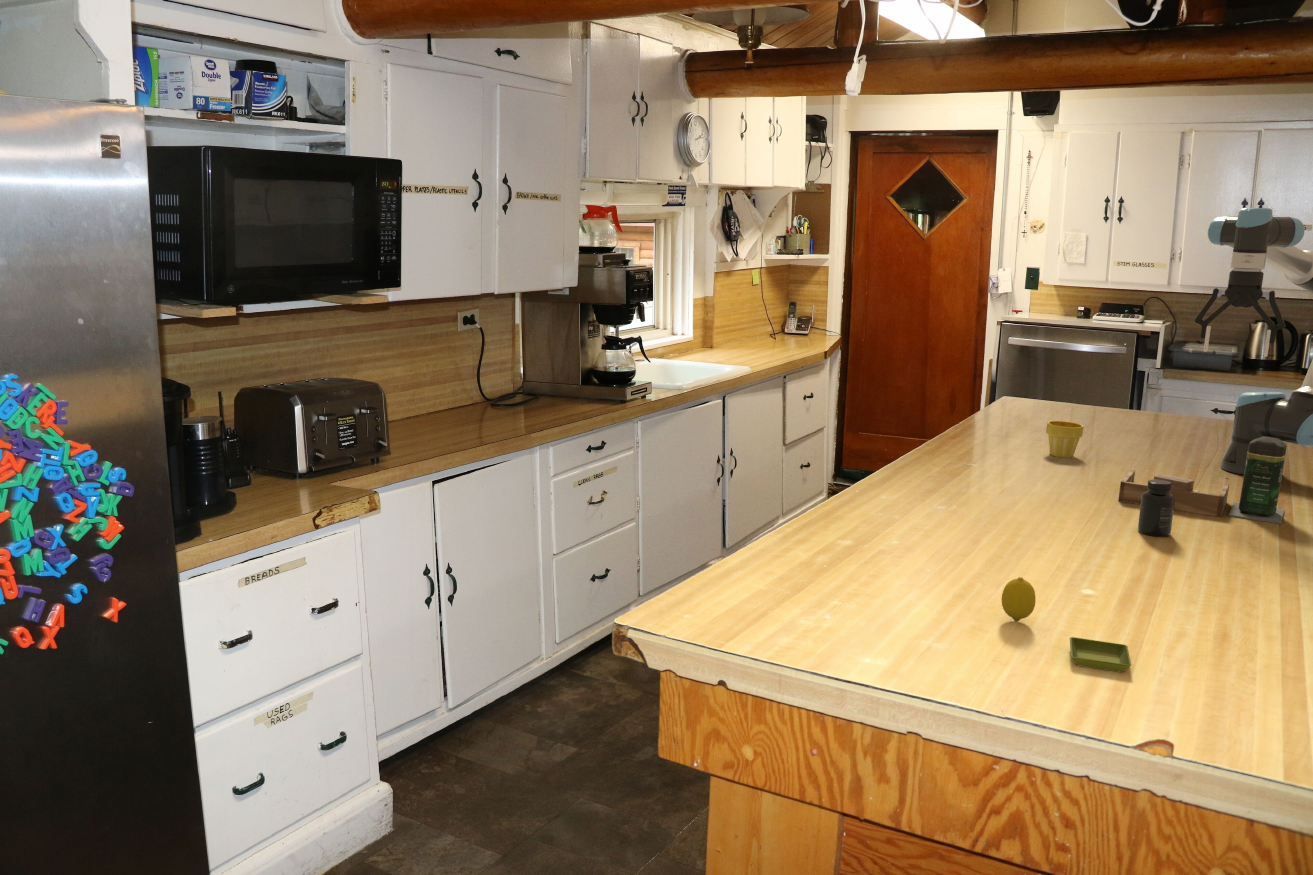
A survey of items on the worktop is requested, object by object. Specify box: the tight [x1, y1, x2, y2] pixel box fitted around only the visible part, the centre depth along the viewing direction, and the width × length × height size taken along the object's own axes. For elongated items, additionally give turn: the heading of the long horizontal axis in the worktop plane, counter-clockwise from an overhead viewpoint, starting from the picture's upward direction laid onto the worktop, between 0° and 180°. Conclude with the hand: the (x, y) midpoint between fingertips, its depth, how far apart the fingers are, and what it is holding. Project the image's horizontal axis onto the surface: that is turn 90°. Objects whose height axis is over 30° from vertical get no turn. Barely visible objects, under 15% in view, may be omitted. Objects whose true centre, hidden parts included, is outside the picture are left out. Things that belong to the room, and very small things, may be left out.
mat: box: [1228, 501, 1285, 525], centre depth 251 cm, size 14×11×1 cm
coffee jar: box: [1238, 436, 1287, 516], centre depth 248 cm, size 10×8×19 cm
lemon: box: [1001, 576, 1036, 622], centre depth 177 cm, size 6×6×8 cm
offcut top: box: [1153, 473, 1195, 491], centre depth 255 cm, size 4×8×2 cm, turn 40°
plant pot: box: [1045, 420, 1084, 459], centre depth 309 cm, size 10×10×10 cm
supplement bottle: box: [1137, 479, 1175, 538], centre depth 231 cm, size 7×7×12 cm
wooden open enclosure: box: [1118, 469, 1230, 518], centre depth 259 cm, size 16×23×5 cm
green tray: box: [1069, 636, 1132, 673], centre depth 162 cm, size 9×9×2 cm
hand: (1235, 353), depth 263 cm, fingers open, 13 cm apart
